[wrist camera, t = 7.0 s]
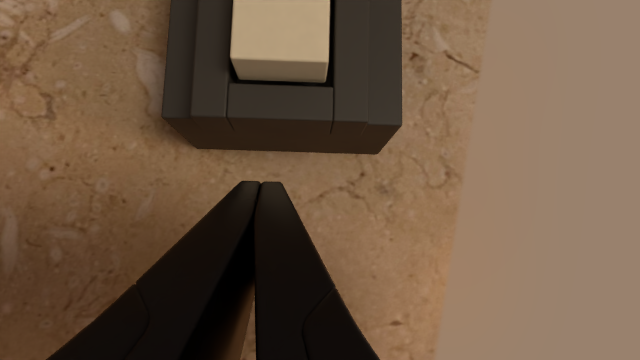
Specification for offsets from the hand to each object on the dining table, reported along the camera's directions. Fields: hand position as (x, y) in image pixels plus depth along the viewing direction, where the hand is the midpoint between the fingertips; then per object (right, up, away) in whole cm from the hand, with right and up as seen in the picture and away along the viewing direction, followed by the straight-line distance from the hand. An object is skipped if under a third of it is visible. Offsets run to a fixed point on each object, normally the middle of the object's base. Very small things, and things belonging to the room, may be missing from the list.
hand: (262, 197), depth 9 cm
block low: (0, +8, +13) cm, 15 cm away
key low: (0, +5, +6) cm, 8 cm away
